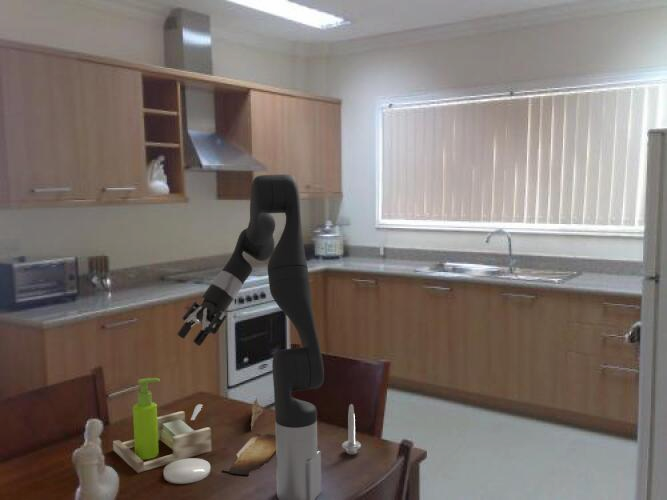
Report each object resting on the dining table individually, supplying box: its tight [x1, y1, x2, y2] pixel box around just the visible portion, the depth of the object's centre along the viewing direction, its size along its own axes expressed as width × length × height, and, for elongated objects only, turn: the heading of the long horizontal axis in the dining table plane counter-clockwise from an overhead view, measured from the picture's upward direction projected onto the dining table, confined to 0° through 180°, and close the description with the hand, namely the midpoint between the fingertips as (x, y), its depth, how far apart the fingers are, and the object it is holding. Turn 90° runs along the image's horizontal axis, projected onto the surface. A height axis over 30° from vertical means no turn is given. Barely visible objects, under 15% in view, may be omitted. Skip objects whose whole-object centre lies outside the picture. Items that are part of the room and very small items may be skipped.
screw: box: [341, 403, 362, 455], centre depth 159 cm, size 13×5×5 cm
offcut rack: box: [112, 410, 212, 474], centre depth 161 cm, size 20×17×6 cm
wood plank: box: [250, 398, 264, 431], centre depth 182 cm, size 15×2×5 cm, turn 0°
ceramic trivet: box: [163, 457, 211, 485], centre depth 149 cm, size 11×11×1 cm
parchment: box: [222, 433, 276, 477], centre depth 159 cm, size 25×10×1 cm, turn 166°
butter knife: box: [190, 403, 204, 421], centre depth 183 cm, size 1×27×3 cm
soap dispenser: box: [132, 377, 161, 461], centre depth 158 cm, size 6×7×20 cm
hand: (188, 340), depth 164 cm, fingers open, 8 cm apart
